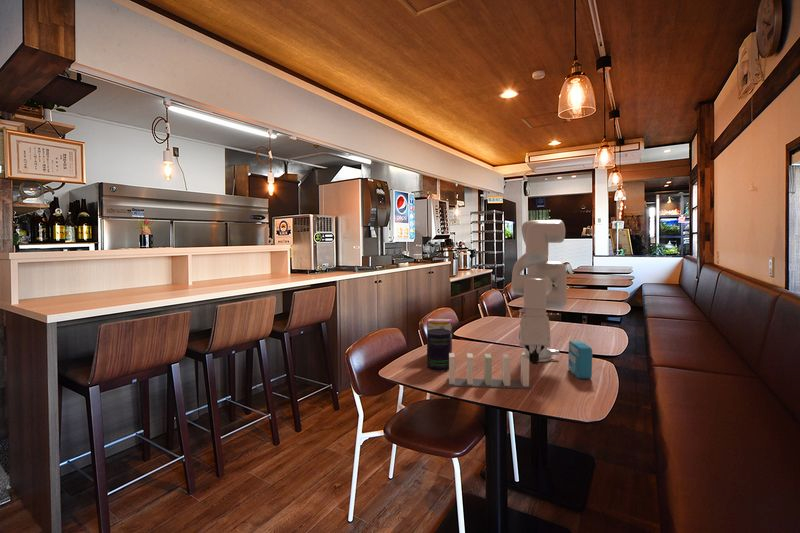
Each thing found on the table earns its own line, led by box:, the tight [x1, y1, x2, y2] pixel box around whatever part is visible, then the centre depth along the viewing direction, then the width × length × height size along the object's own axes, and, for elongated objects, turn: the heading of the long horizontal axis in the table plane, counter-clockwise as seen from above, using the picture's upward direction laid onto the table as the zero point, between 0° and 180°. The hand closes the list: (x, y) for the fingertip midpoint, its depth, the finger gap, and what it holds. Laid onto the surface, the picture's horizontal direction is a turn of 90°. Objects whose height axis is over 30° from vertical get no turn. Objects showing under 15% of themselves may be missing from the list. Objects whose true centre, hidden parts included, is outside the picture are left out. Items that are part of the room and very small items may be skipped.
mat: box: [446, 377, 533, 390], centre depth 147 cm, size 30×7×1 cm, turn 84°
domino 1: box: [448, 352, 456, 384], centre depth 148 cm, size 2×5×10 cm, turn 174°
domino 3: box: [501, 353, 511, 386], centre depth 146 cm, size 2×5×10 cm, turn 173°
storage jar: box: [426, 329, 451, 372], centre depth 166 cm, size 10×10×15 cm
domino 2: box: [466, 352, 474, 385], centre depth 148 cm, size 2×5×10 cm, turn 173°
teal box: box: [567, 340, 593, 380], centre depth 156 cm, size 12×4×12 cm, turn 176°
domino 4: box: [520, 354, 530, 386], centre depth 145 cm, size 2×5×10 cm, turn 173°
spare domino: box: [483, 353, 493, 385], centre depth 147 cm, size 2×5×10 cm, turn 174°
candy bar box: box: [426, 318, 453, 355], centre depth 181 cm, size 11×5×16 cm, turn 84°
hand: (533, 363), depth 145 cm, fingers closed
